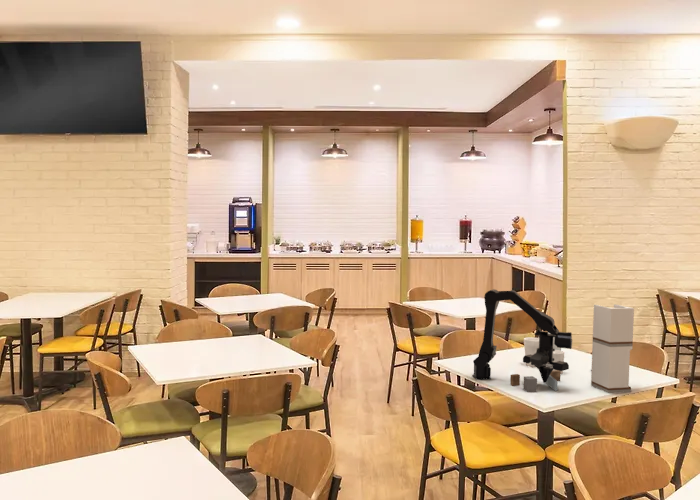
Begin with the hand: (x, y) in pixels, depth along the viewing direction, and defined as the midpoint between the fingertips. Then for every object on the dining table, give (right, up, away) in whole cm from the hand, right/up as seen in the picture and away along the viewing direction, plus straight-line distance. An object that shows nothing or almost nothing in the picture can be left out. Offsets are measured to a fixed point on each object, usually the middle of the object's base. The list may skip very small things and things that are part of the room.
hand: (544, 382), depth 245 cm
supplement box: (+23, 0, +57) cm, 61 cm away
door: (+3, -2, -1) cm, 4 cm away
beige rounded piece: (+13, -1, +23) cm, 26 cm away
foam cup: (+7, 0, +36) cm, 37 cm away
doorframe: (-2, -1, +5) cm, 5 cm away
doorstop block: (-8, -2, -7) cm, 11 cm away
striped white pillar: (+27, -2, -2) cm, 27 cm away
